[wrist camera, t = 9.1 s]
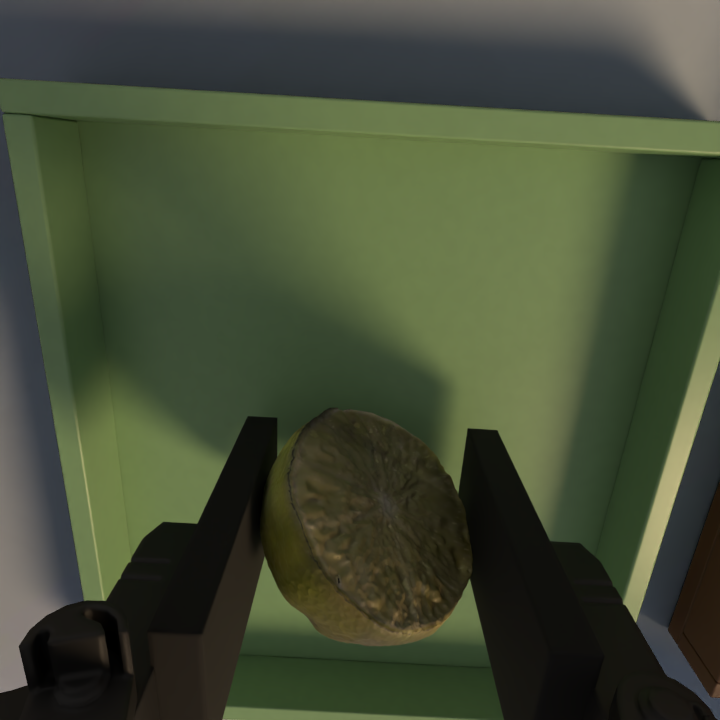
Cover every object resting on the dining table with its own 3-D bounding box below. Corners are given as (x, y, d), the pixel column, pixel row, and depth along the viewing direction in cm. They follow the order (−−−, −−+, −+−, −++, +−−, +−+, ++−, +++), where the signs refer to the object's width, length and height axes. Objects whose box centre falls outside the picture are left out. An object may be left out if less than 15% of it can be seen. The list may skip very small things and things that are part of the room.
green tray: (62, 92, 12) (-6, 77, 10) (717, 131, 12) (795, 126, 10) (134, 645, 18) (101, 713, 16) (571, 669, 18) (600, 739, 16)
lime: (280, 382, 13) (232, 503, 9) (472, 396, 13) (528, 524, 9) (276, 528, 15) (234, 698, 10) (448, 540, 15) (485, 715, 10)
